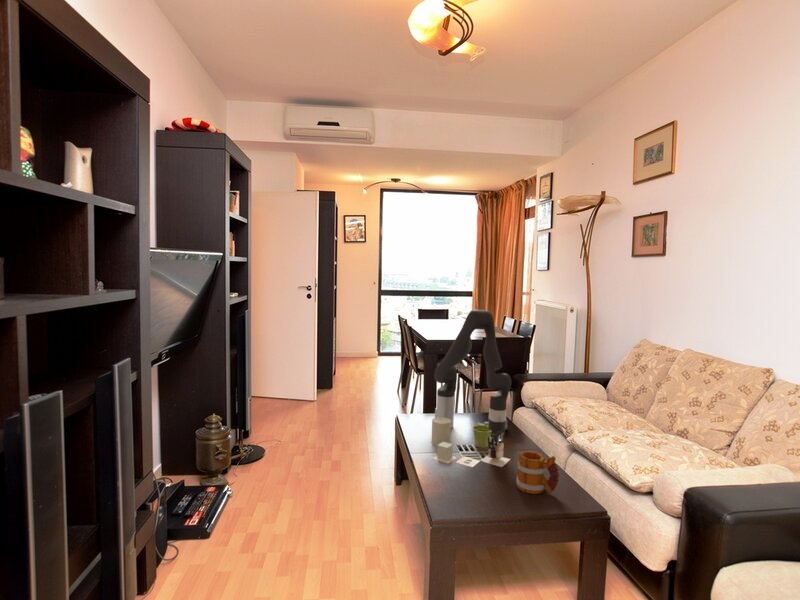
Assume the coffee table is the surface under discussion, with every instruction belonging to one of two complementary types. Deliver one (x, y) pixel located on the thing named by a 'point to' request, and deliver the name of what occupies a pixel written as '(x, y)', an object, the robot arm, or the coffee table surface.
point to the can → (440, 430)
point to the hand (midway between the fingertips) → (495, 455)
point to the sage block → (444, 451)
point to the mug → (536, 473)
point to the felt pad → (495, 461)
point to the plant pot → (481, 435)
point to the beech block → (497, 451)
